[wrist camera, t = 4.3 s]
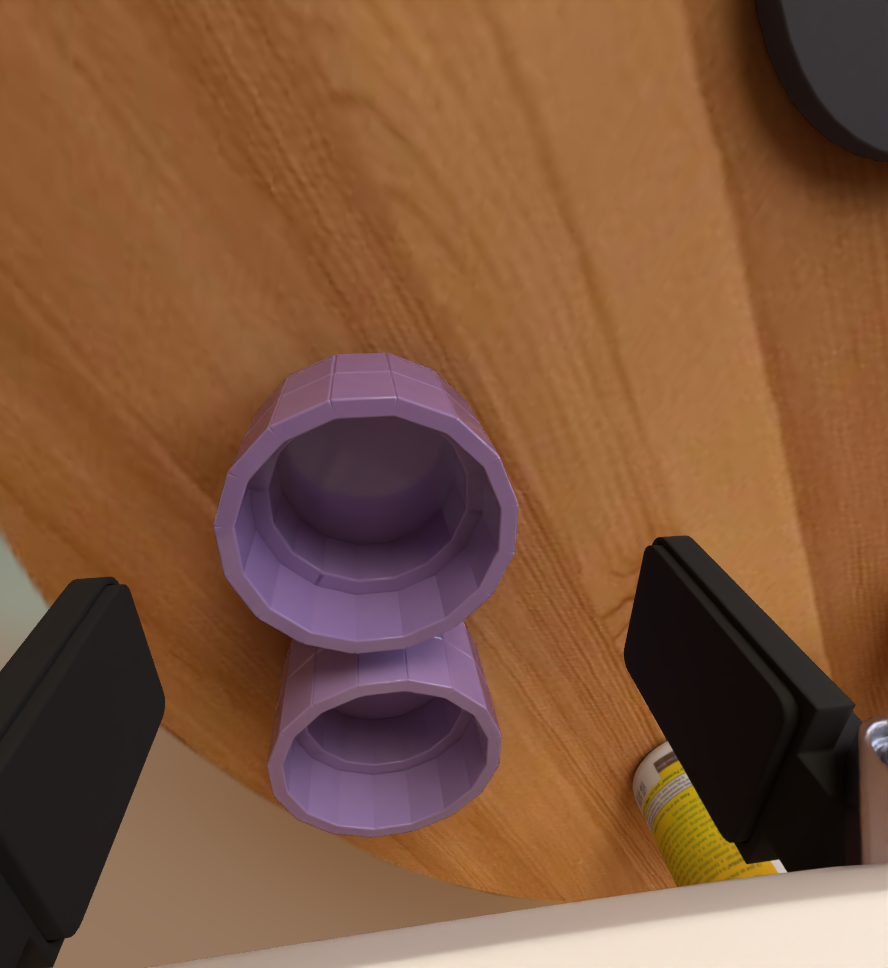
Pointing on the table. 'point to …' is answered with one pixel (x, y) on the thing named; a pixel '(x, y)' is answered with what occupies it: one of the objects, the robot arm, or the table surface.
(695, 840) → the supplement bottle
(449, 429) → the dish
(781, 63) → the coaster
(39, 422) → the table surface
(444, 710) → the dish
